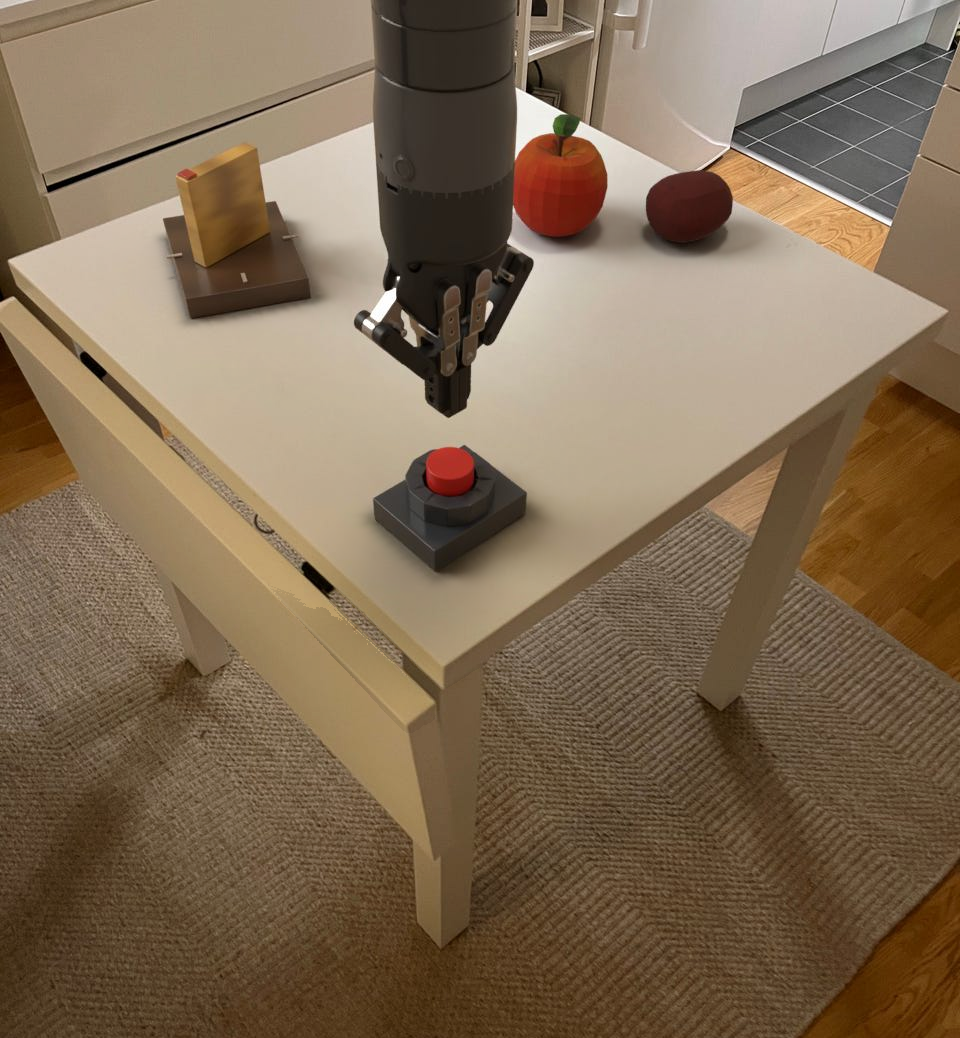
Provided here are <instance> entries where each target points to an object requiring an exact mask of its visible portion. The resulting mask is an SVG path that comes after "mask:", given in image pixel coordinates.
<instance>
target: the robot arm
mask: <svg viewBox="0 0 960 1038" xmlns="http://www.w3.org/2000/svg"><path fill="white" fill-rule="evenodd" d="M370 5H371V23H372V25H371V26H372V39H373V40H372V41H373V55H374V78H373V79H374V80H373V90H372V91H373V92H372V93H373V94H372V121H373V137H374V139H373V140H374V153H375V154H374V155H375V170H376V185H377V197H378V198H377V200H378V201H377V202H378V215H379V228H380V229H379V230H380V233H381V236H382V240H383V243H384V245H385V248H386V249H385V250H386V252H387V257H388V258H387V263H386V267H385V271H384V273H383V278H382V286H383V291H384V295H383V296H382V297H381V299H379V301H378V303H377V304H376V306H375V307H374V309H373V310H372V312H370V311H369V310H367V309H362V310H360V311H358V313H357V314H356V315H355V316H354V319H353V326H354V328H355V329H356V330H358V331H359V332H360V333H361V334H363V335H364V336H365V337H367V339H369V340H370V341H371V342H372V343H374V344H375V345H377V347H379V348H380V349H382V351H384V352H385V353H387V354H388V355H389V356H391V357H392V358H393V359H394V360H396V361H397V362H398V363H400V364H401V365H403V366H405V367H406V369H408V370H410V371H411V372H412V373H413V374H415V375H416V376H417V377H419V378H420V379H421V380H422V381H424V400H425V401H426V403H427V405H428V406H430V407H432V408H433V409H434V410H435V411H436V412H438V413H439V414H441V415H443V416H445V418H447V419H450V418H453V417H454V416H455V415H457V414H459V413H460V412H462V411H464V410H466V409H467V407H468V399H469V398H470V395H471V391H472V364H473V363H474V361H475V360H476V358H477V354H478V350H479V348H481V347H482V346H483V345H484V346H485V347H489V346H492V345H493V344H494V343H495V341H496V340H497V338H498V336H499V334H500V332H501V330H502V328H503V327H504V324H505V323H506V320H507V319H508V317H509V315H510V313H511V311H512V309H513V307H514V305H515V303H516V301H517V299H518V297H519V295H520V293H521V292H522V289H523V288H524V287H525V284H526V282H527V280H528V279H529V276H530V274H531V273H532V271H533V268H534V265H535V262H534V259H533V258H532V257H531V256H529V255H527V254H526V253H524V252H523V251H521V250H519V249H518V248H516V247H514V246H512V245H511V244H509V242H508V241H509V239H510V237H511V233H512V230H513V215H514V206H513V194H514V175H515V160H516V147H517V131H518V130H517V129H518V127H517V126H518V99H517V87H516V73H515V71H516V70H515V69H516V67H515V66H516V65H515V64H516V63H515V62H516V47H517V45H516V43H517V19H518V0H370ZM489 302H490V303H491V304H492V309H491V311H490V312H489V315H488V317H487V318H486V315H487V306H488V305H487V304H488V303H489ZM402 312H404V313H405V314H406V315H407V316H408V321H409V326H410V328H411V329H412V330H413V332H414V334H415V340H416V341H415V342H416V346H414V345H413V344H412V343H411V342H409V341H408V340H407V339H406V337H407V335H408V330H407V329H406V328H405V322H404V320H403V318H402Z"/></svg>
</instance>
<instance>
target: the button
mask: <svg viewBox="0 0 960 1038" xmlns="http://www.w3.org/2000/svg"><path fill="white" fill-rule="evenodd" d="M436 449H437V450H435V451H434V452H432V453H431V454H430V455H429V457H428V458H427V461H426V474H427V484H428V486H429V488H430V489H431V490H432V491H433V492H435V493H436V494H438V495H441V496H446V497H455V496H460V495H462V494H464V493H466V492H468V491H469V490H470V489H471V487H472V486H473V483H474V460H473V458H472V456H471V455H470V454H469V453H468V452H467V451H465V450H463V449H460V447H456V446H444V447H440V448H436Z"/></svg>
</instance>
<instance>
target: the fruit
mask: <svg viewBox="0 0 960 1038" xmlns="http://www.w3.org/2000/svg"><path fill="white" fill-rule="evenodd" d="M580 122H581V117H579V116H576V115H574V114H573V113H566V114H565V113H564V114H563V113H560V114H559V115H557V116H556V117H554V120H553V123H552V130H553V132H551V133H550V132H549V133H545V134H541V135H538V136H535V137H532V138H531V139H530V140H529V141H528V142H527V143H526V144H525V145H524V146H523V148H521V150H519V152H518V154H517V155H516V157H515V175H514V194H513V210H514V212H515V214H516V215H517V217H518V218H519V219H520V220H521V222H522V223H523V224H524V225H525V226H526V227H527V228H528V229H529V230H531V231H533V232H535V233H537V234H540V235H543V236H546V237H553V238H560V237H567V236H571V235H576V234H578V233H580V232H582V231H583V230H585V229H586V228H587V227H588V226H590V224H592V222H593V221H595V219H596V218H597V217H598V216H599V214H600V212H601V211H602V208H603V207H604V204H605V203H604V202H605V199H606V196H607V190H608V183H609V182H608V171H607V168H606V163H605V161H604V159H603V156H602V154H601V153H600V151H599V150H598V148H597V147H596V145H595V144H593V142H591V140H588V139H586V138H583V137H580V136H575V135H574V133H575V132H576V131H577V129H578V127H579V125H580Z"/></svg>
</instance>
